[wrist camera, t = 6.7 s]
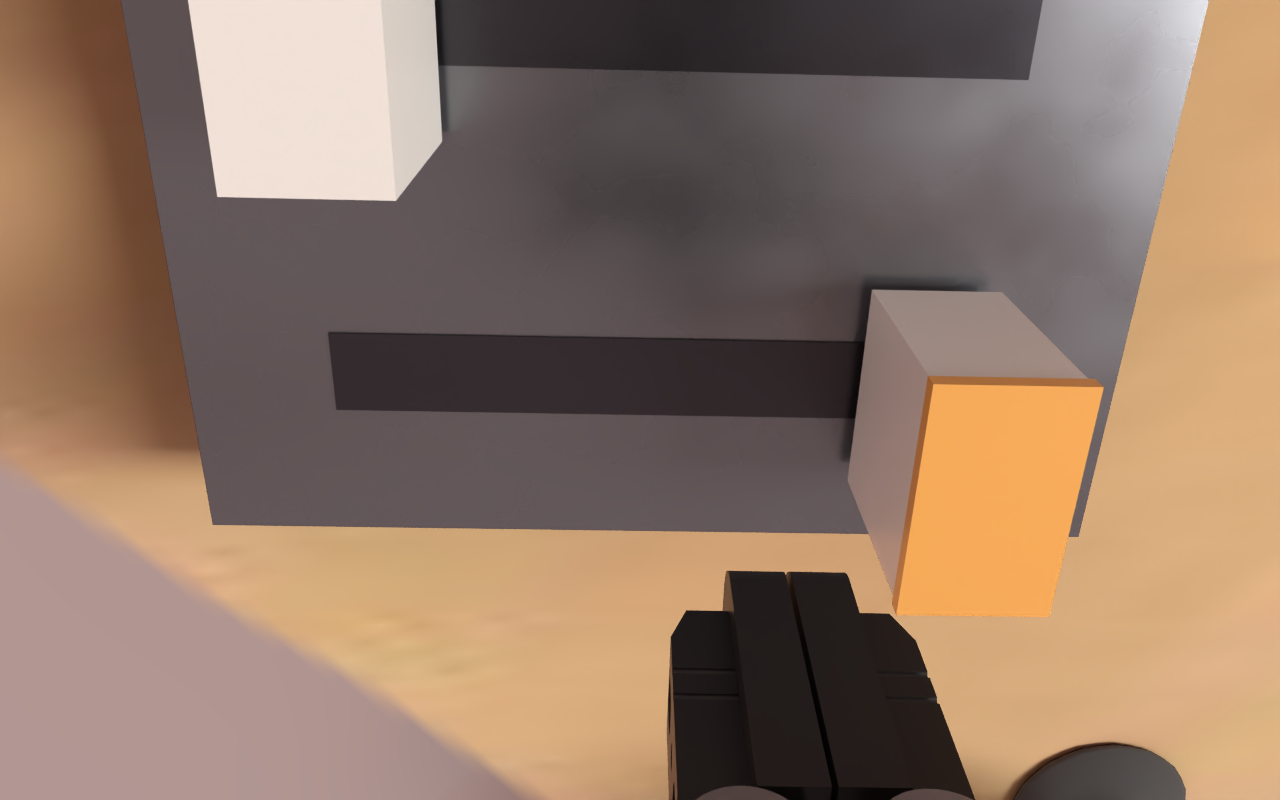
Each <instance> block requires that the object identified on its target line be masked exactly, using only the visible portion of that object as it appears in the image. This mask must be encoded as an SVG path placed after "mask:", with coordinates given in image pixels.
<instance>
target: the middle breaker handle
mask: <svg viewBox="0 0 1280 800" xmlns="http://www.w3.org/2000/svg"><path fill="white" fill-rule="evenodd" d="M188 4H189V11H190V17H191V24H192V31H193V37H194V44H195V51H196V58H197V64H198V71H199V78H200V84H201V91H202V98H203V104H204V111H205V118H206V124H207V131H208V138H209V145H210V151H211V158H212V165H213V171H214V178H215V185H216V191H217V197H241V198H286V199H332V200H378V201H396V200H397V199H398V198H399V196H400V195H401V194H402V192H403V191H404V190H405V189H406V187H407V186H408V185H409V183H410V182H411V181H412V180H413V178H414V177H415V176H416V175H417V173H418V172H419V171H420V169H421V168H422V167H423V166H424V164H425V163H426V162H427V160H428V159H429V158H430V157H431V155H432V154H433V153H434V151H435V150H436V149H437V148H438V146H439V145H440V144H441V142H442V128H441V110H440V91H439V73H438V55H437V36H436V18H435V0H188Z"/></svg>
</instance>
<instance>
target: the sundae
mask: <svg viewBox="0 0 1280 800" xmlns="http://www.w3.org/2000/svg"><path fill="white" fill-rule="evenodd" d="M1185 794H1186V789H1185V787H1184V784H1183V781H1182V779H1181V777H1180V775H1179V774H1178V772H1177V770H1176V769H1175V767H1174V766H1172V765H1171V764H1170V763H1169V762H1167V761H1166V760H1165V759H1163V758H1162V757H1160V756H1158V755H1156V754H1155V753H1153V752H1151V751H1148V750H1144V749H1140V748H1136V747H1129V746H1122V745H1105V746H1096V747H1090V748H1084V749H1080V750H1077V751H1074V752H1072V753H1069V754H1066V755H1064V756H1062V757H1060V758H1057V759H1055V760H1053V761H1051V762H1049V763H1048V764H1046V765H1045V766H1044V767H1042V768H1041V769H1040V770H1038V771H1037V772H1036V773H1035V774H1034V775H1033V776H1031V777H1030V778H1029V779H1028V780H1027V781H1026V782H1025V783H1024V784H1023V786H1022V788H1021V789H1020V791H1019V792H1018V794H1017V795H1016V797H1015V799H1014V800H1185Z"/></svg>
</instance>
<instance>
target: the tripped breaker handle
mask: <svg viewBox="0 0 1280 800" xmlns="http://www.w3.org/2000/svg"><path fill="white" fill-rule="evenodd" d="M1103 389H1104V387H1103V386H1102V385H1101V384H1100V383H1099V382H1098V381H1097V380H1096V379H1088V378H1087V377H1086V376H1085V375H1084V374H1083V373H1082V372H1081V371H1080V370H1079V369H1078V368H1077V367H1076V366H1075V365H1074V364H1073V363H1072V362H1071V361H1070V360H1069V359H1068V358H1067V357H1066V356H1065V355H1064V354H1063V353H1062V352H1061V351H1060V350H1059V349H1058V348H1057V347H1056V346H1055V345H1054V344H1053V343H1052V342H1051V341H1050V340H1049V339H1048V338H1047V337H1046V336H1045V335H1044V334H1043V333H1042V332H1041V331H1040V330H1039V329H1038V328H1037V327H1036V326H1035V325H1034V324H1033V323H1032V322H1031V321H1030V320H1029V319H1028V318H1027V317H1026V316H1025V315H1024V314H1023V313H1022V312H1021V311H1020V310H1019V309H1018V308H1017V307H1016V306H1015V305H1014V304H1013V303H1012V302H1011V301H1010V300H1009V299H1008V298H1007V297H1006V296H1005V295H1004V294H1003V293H1002V292H967V291H917V290H872V293H871V301H870V309H869V316H868V324H867V332H866V340H865V348H864V356H863V363H862V371H861V379H860V387H859V395H858V403H857V410H856V418H855V426H854V434H853V442H852V449H851V457H850V465H849V473H848V483H849V485H850V488H851V490H852V493H853V495H854V498H855V500H856V503H857V506H858V508H859V511H860V513H861V516H862V518H863V521H864V523H865V526H866V528H867V531H868V533H869V536H870V538H871V541H872V544H873V546H874V549H875V551H876V554H877V556H878V559H879V561H880V564H881V566H882V569H883V571H884V574H885V576H886V579H887V581H888V584H889V587H890V589H891V592H892V594H893V600H892V605H893V608H894V610H895V613H896V615H938V616H1021V617H1049V615H1050V611H1051V607H1052V603H1053V599H1054V595H1055V590H1056V586H1057V582H1058V578H1059V574H1060V569H1061V565H1062V561H1063V557H1064V553H1065V548H1066V544H1067V540H1068V536H1069V532H1070V527H1071V523H1072V519H1073V515H1074V511H1075V506H1076V502H1077V498H1078V494H1079V490H1080V485H1081V481H1082V477H1083V473H1084V469H1085V464H1086V460H1087V456H1088V452H1089V448H1090V443H1091V439H1092V435H1093V431H1094V427H1095V422H1096V418H1097V414H1098V410H1099V406H1100V401H1101V397H1102V393H1103Z"/></svg>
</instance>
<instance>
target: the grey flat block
mask: <svg viewBox="0 0 1280 800" xmlns="http://www.w3.org/2000/svg"><path fill="white" fill-rule="evenodd" d="M1208 2H1209V0H435V18H436V36H437V55H438V73H439V91H440V110H441V128H442V142H441V144H440V145H439V146H438V148H437V149H436V150H435V151H434V153H433V154H432V155H431V157H430V158H429V159H428V160H427V162H426V163H425V164H424V166H423V167H422V168H421V169H420V171H419V172H418V173H417V175H416V176H415V177H414V178H413V180H412V181H411V182H410V183H409V185H408V186H407V187H406V189H405V190H404V191H403V192H402V194H401V195H400V196H399V198H398V199H397V200H396V201H378V200H332V199H286V198H241V197H217V191H216V185H215V178H214V171H213V165H212V158H211V151H210V145H209V138H208V131H207V124H206V118H205V111H204V104H203V98H202V91H201V84H200V78H199V71H198V64H197V58H196V51H195V44H194V37H193V31H192V24H191V17H190V11H189V4H188V0H121V4H122V9H123V15H124V21H125V26H126V32H127V38H128V43H129V49H130V55H131V61H132V66H133V72H134V78H135V83H136V89H137V95H138V101H139V106H140V112H141V118H142V123H143V129H144V135H145V141H146V146H147V152H148V158H149V163H150V169H151V175H152V181H153V186H154V192H155V198H156V203H157V209H158V215H159V220H160V226H161V232H162V238H163V243H164V249H165V255H166V260H167V266H168V272H169V278H170V283H171V289H172V295H173V300H174V306H175V312H176V318H177V323H178V329H179V335H180V340H181V346H182V352H183V357H184V363H185V369H186V375H187V380H188V386H189V392H190V397H191V403H192V409H193V415H194V420H195V426H196V432H197V437H198V443H199V449H200V455H201V460H202V466H203V472H204V477H205V483H206V489H207V495H208V500H209V506H210V512H211V517H212V523H213V525H264V526H336V527H408V528H480V529H552V530H624V531H695V532H767V533H839V534H869V533H868V531H867V528H866V526H865V523H864V521H863V518H862V516H861V513H860V511H859V508H858V506H857V503H856V500H855V498H854V495H853V493H852V490H851V488H850V485H849V483H848V473H849V465H850V457H851V449H852V442H853V434H854V426H855V418H856V410H857V403H858V395H859V387H860V379H861V371H862V363H863V356H864V348H865V340H866V332H867V324H868V316H869V309H870V301H871V293H872V290H917V291H967V292H1002V293H1003V294H1004V295H1005V296H1006V297H1007V298H1008V299H1009V300H1010V301H1011V302H1012V303H1013V304H1014V305H1015V306H1016V307H1017V308H1018V309H1019V310H1020V311H1021V312H1022V313H1023V314H1024V315H1025V316H1026V317H1027V318H1028V319H1029V320H1030V321H1031V322H1032V323H1033V324H1034V325H1035V326H1036V327H1037V328H1038V329H1039V330H1040V331H1041V332H1042V333H1043V334H1044V335H1045V336H1046V337H1047V338H1048V339H1049V340H1050V341H1051V342H1052V343H1053V344H1054V345H1055V346H1056V347H1057V348H1058V349H1059V350H1060V351H1061V352H1062V353H1063V354H1064V355H1065V356H1066V357H1067V358H1068V359H1069V360H1070V361H1071V362H1072V363H1073V364H1074V365H1075V366H1076V367H1077V368H1078V369H1079V370H1080V371H1081V372H1082V373H1083V374H1084V375H1085V376H1086V377H1087V378H1088V379H1096V380H1097V381H1098V382H1099V383H1100V384H1101V385H1102V386H1103V387H1104V389H1103V393H1102V397H1101V401H1100V406H1099V410H1098V414H1097V418H1096V422H1095V427H1094V431H1093V435H1092V439H1091V443H1090V448H1089V452H1088V456H1087V460H1086V464H1085V469H1084V473H1083V477H1082V481H1081V485H1080V490H1079V494H1078V498H1077V502H1076V506H1075V511H1074V515H1073V519H1072V523H1071V527H1070V532H1069V536H1068V537H1078V536H1079V532H1080V528H1081V524H1082V520H1083V516H1084V512H1085V507H1086V503H1087V499H1088V495H1089V491H1090V487H1091V483H1092V479H1093V475H1094V470H1095V466H1096V462H1097V458H1098V454H1099V450H1100V446H1101V442H1102V438H1103V433H1104V429H1105V425H1106V421H1107V417H1108V413H1109V409H1110V405H1111V401H1112V396H1113V392H1114V388H1115V384H1116V380H1117V376H1118V372H1119V368H1120V364H1121V359H1122V355H1123V351H1124V347H1125V343H1126V339H1127V335H1128V331H1129V327H1130V322H1131V318H1132V314H1133V310H1134V306H1135V302H1136V298H1137V294H1138V290H1139V285H1140V281H1141V277H1142V273H1143V269H1144V265H1145V261H1146V257H1147V253H1148V248H1149V244H1150V240H1151V236H1152V232H1153V228H1154V224H1155V220H1156V216H1157V211H1158V207H1159V203H1160V199H1161V195H1162V191H1163V187H1164V183H1165V179H1166V174H1167V170H1168V166H1169V162H1170V158H1171V154H1172V150H1173V146H1174V141H1175V137H1176V133H1177V129H1178V125H1179V121H1180V117H1181V113H1182V109H1183V104H1184V100H1185V96H1186V92H1187V88H1188V84H1189V80H1190V76H1191V72H1192V67H1193V63H1194V59H1195V55H1196V51H1197V47H1198V43H1199V39H1200V35H1201V30H1202V26H1203V22H1204V18H1205V14H1206V10H1207V6H1208Z"/></svg>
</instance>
